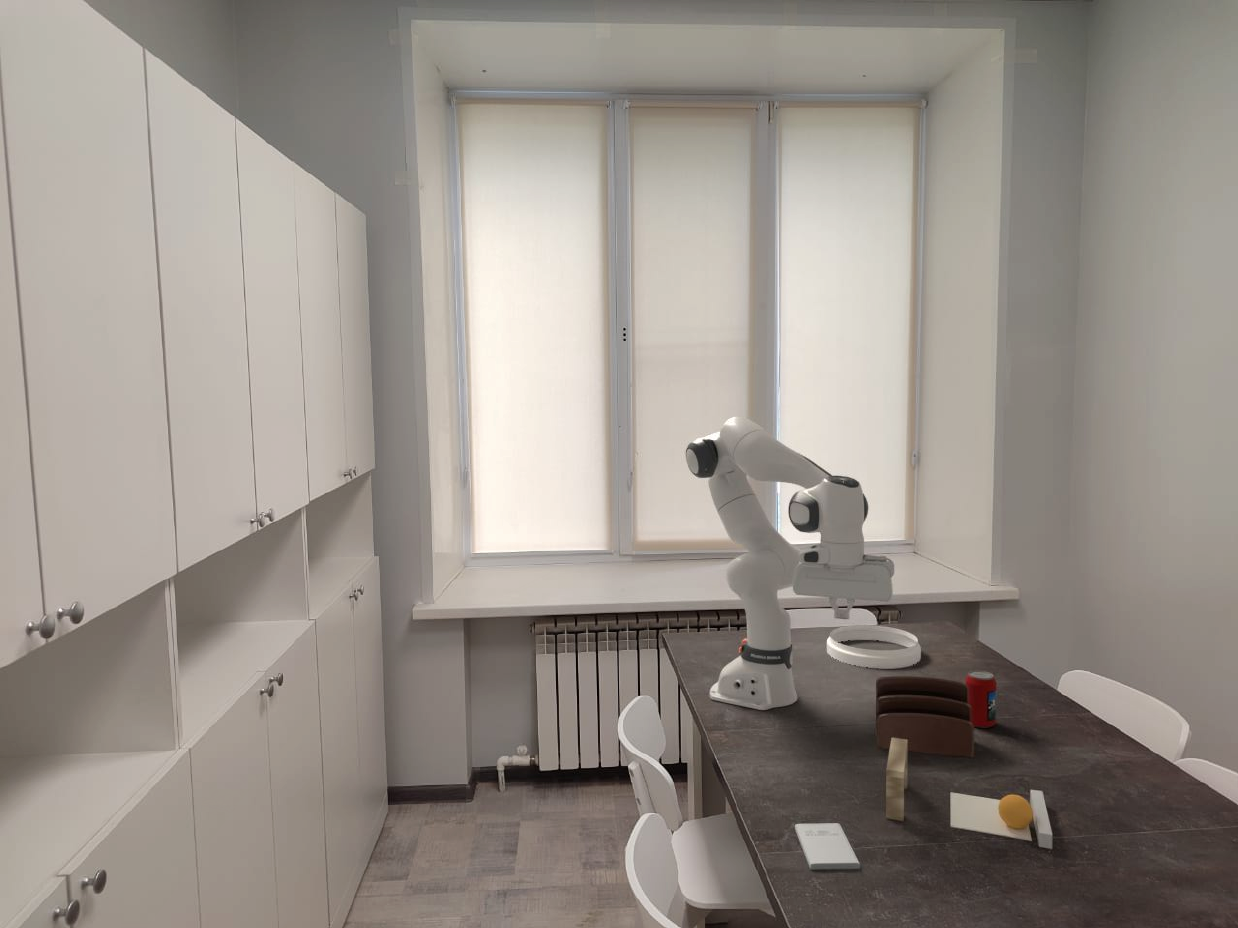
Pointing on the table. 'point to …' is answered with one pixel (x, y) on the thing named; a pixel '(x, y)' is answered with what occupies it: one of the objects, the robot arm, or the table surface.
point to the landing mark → (982, 817)
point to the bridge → (896, 779)
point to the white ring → (874, 657)
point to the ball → (1015, 811)
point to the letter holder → (924, 715)
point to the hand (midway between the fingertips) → (841, 618)
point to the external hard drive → (826, 846)
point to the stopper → (1041, 819)
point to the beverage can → (982, 698)
